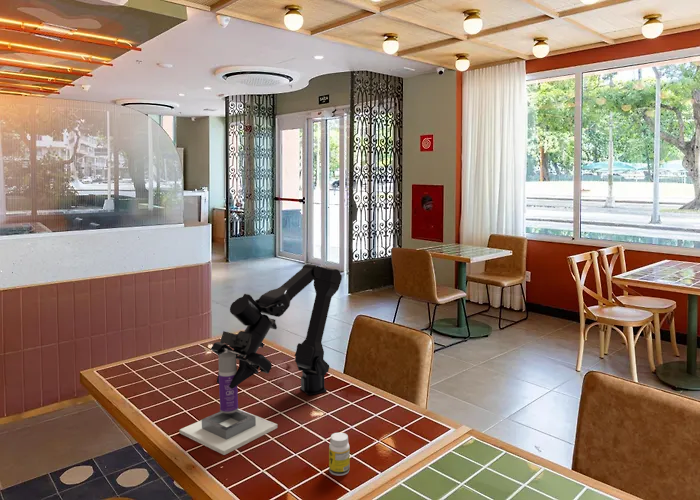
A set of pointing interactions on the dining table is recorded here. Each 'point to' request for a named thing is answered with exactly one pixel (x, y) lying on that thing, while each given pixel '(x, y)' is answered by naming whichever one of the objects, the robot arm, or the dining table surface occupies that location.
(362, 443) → the dining table surface
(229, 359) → the container
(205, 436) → the mat
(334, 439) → the supplement bottle
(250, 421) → the collar
